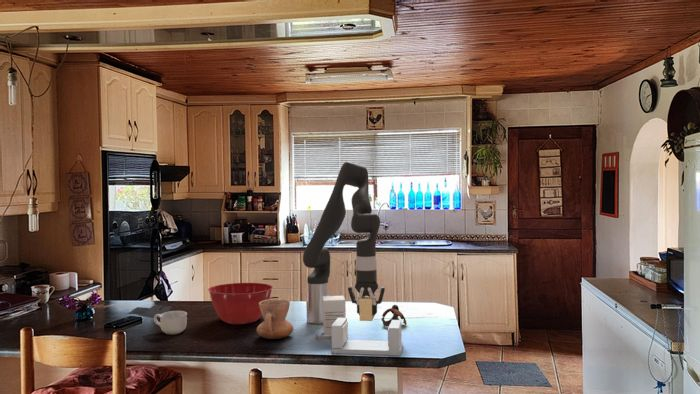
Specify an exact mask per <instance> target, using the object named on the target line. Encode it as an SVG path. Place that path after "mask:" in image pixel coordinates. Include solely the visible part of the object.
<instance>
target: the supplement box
mask: <svg viewBox="0 0 700 394" xmlns="http://www.w3.org/2000/svg"><path fill="white" fill-rule="evenodd" d="M345 298H346V297H345V296H344V295H328V296H323V323H322V330H323V331H322V332H323V335H325V336H332V327H331V326H332V324H333V323H334V322H335V321H336V319H337V318H347V317H346V315H347V313H346V312H347V311H346V310H347V309H346V308H347V307H346V299H345Z"/></svg>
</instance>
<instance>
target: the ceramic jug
mask: <svg viewBox="0 0 700 394" xmlns="http://www.w3.org/2000/svg"><path fill="white" fill-rule="evenodd" d="M290 306H291V301H290V300H289V299H286V298H281V299H279V298H269V299H268V300H264V301H261V302H260V303H259V307H260V310H261V313H262V318H263V319H264V320H263V321H262V322H261V323H260V324H258V326H257V327H256V333H257V334H258V336H259V337H261V338H263V339H268V340H269V339H270V340H277V339H280V340H281V339H283V338H287V337H289V336H290V335H291V334H292V333H293V332H294V326H293V324H292V323H291V322H289V320H287V319H286V318H287V316H288V313H289V310H290Z"/></svg>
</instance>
